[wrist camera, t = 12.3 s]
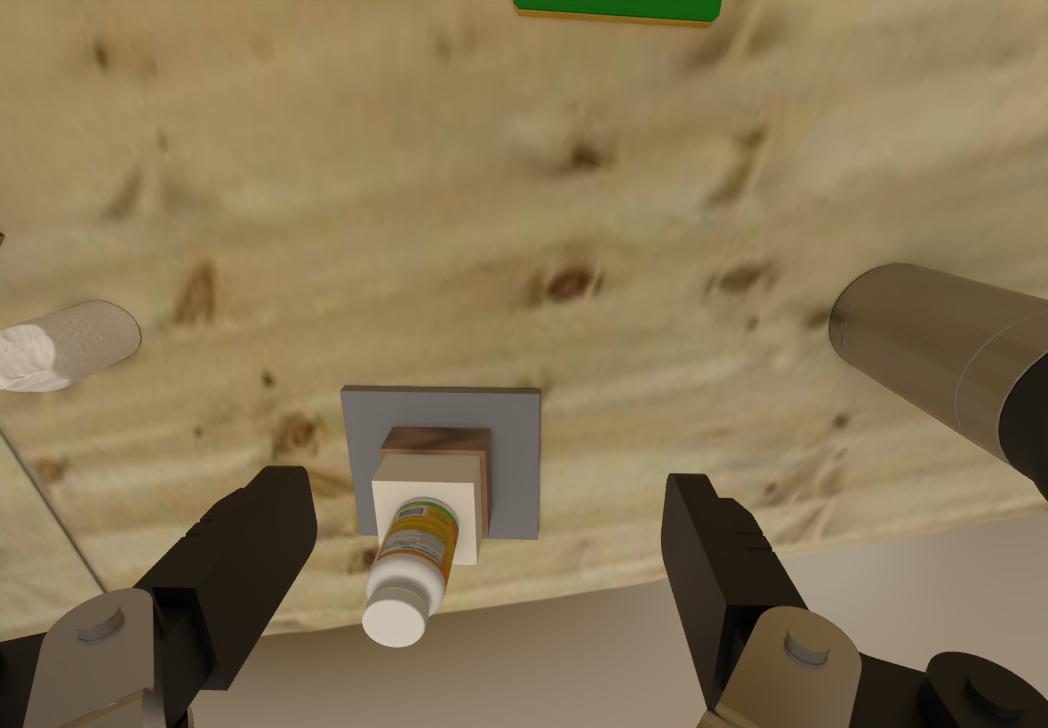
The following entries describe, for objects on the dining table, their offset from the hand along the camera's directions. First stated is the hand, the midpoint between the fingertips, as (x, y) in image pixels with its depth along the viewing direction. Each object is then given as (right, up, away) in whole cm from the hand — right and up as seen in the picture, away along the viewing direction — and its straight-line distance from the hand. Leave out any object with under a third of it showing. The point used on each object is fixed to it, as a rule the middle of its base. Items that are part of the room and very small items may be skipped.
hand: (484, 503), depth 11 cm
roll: (-37, +6, +35) cm, 51 cm away
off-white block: (-7, -8, +33) cm, 35 cm away
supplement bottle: (-7, -10, +30) cm, 32 cm away
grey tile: (-7, -6, +38) cm, 39 cm away
